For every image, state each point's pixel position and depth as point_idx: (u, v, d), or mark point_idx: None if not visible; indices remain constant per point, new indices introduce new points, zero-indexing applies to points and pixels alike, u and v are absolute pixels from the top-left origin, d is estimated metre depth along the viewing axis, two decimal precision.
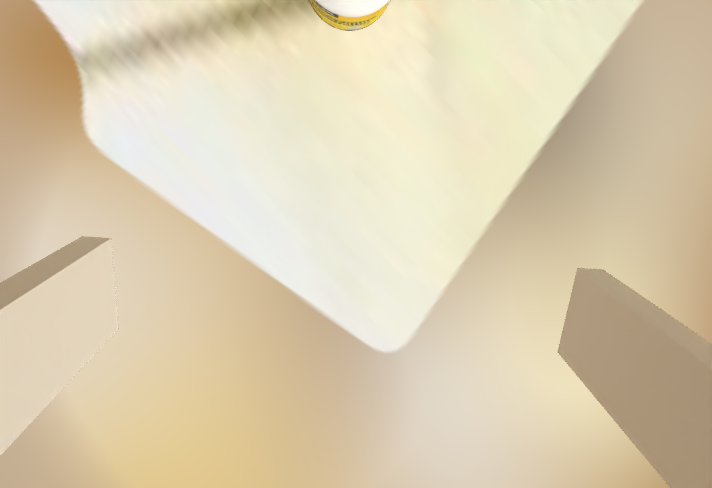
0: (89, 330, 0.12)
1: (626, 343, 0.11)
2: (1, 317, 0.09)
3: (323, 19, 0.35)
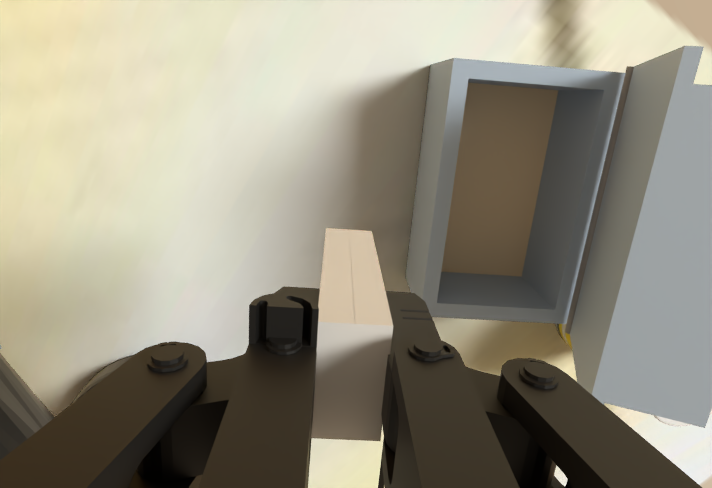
0: None
1: None
2: None
3: None
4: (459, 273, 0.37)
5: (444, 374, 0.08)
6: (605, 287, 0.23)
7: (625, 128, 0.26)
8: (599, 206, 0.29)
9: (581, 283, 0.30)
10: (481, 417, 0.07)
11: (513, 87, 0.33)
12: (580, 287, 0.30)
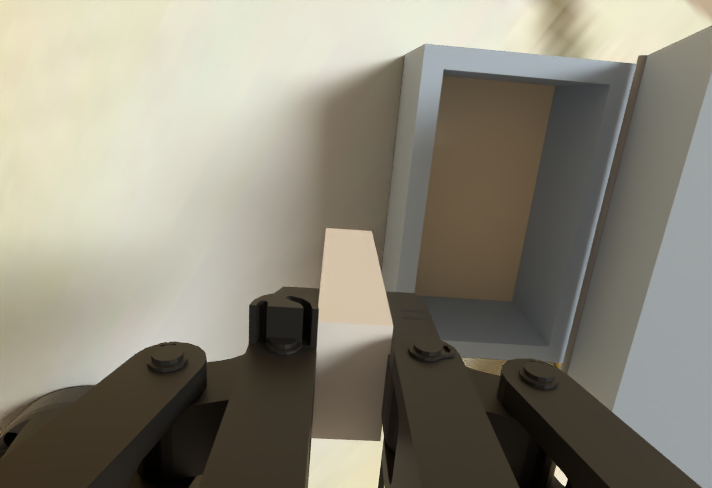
0: None
1: None
2: None
3: None
4: (439, 298, 0.32)
5: (444, 374, 0.08)
6: (611, 335, 0.18)
7: (636, 132, 0.20)
8: (603, 225, 0.24)
9: (580, 317, 0.25)
10: (481, 417, 0.07)
11: (502, 82, 0.28)
12: (579, 321, 0.25)
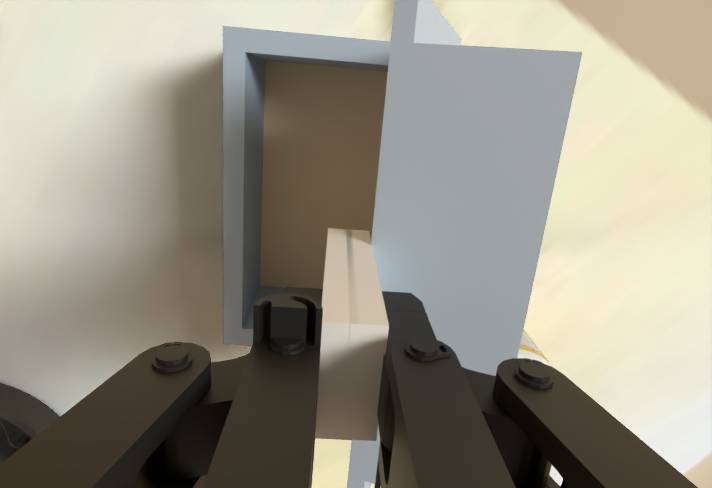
0: None
1: None
2: None
3: None
4: None
5: (440, 374, 0.08)
6: None
7: None
8: None
9: None
10: (477, 417, 0.07)
11: (348, 69, 0.27)
12: None
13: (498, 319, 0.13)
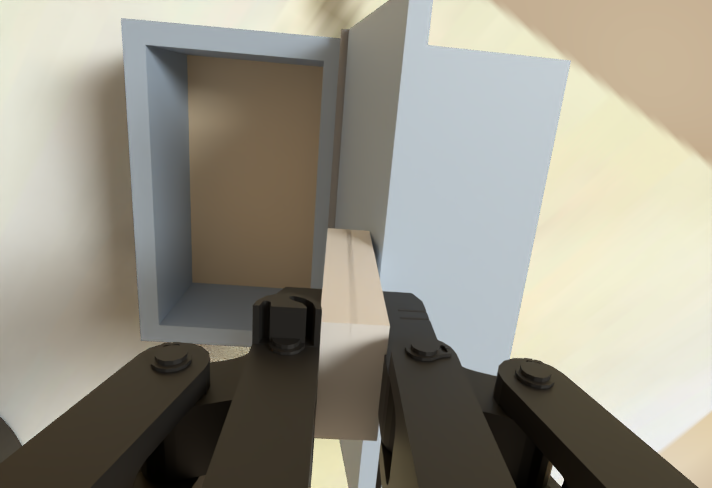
0: None
1: None
2: None
3: None
4: (236, 286, 0.31)
5: (441, 374, 0.08)
6: None
7: (350, 109, 0.20)
8: (335, 208, 0.23)
9: None
10: (478, 417, 0.07)
11: (271, 63, 0.27)
12: None
13: (500, 302, 0.15)
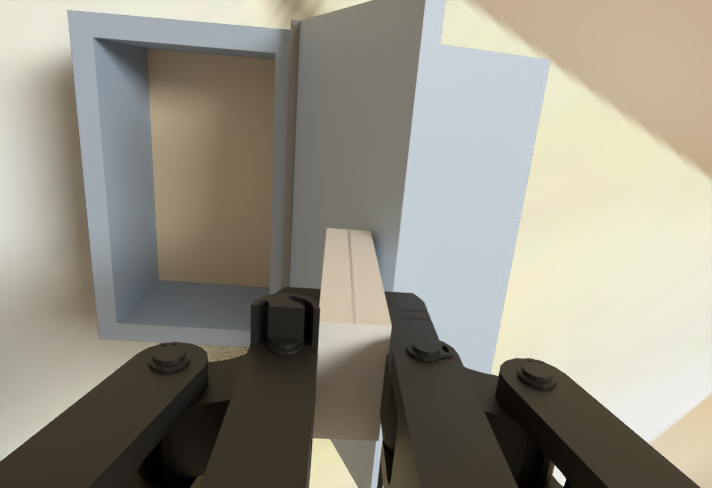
0: None
1: None
2: None
3: None
4: (203, 284, 0.31)
5: (443, 374, 0.08)
6: None
7: (312, 103, 0.19)
8: (292, 204, 0.22)
9: None
10: (480, 417, 0.07)
11: (233, 57, 0.27)
12: None
13: (492, 280, 0.16)
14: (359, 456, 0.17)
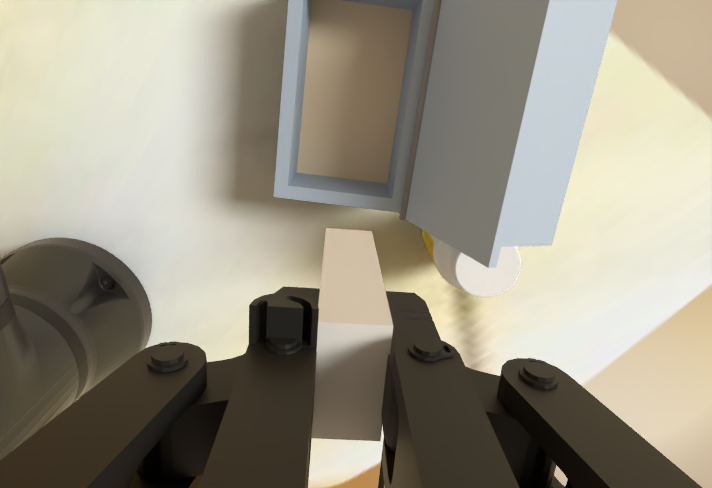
0: None
1: None
2: None
3: None
4: (330, 177, 0.41)
5: (444, 374, 0.08)
6: (479, 157, 0.28)
7: (453, 27, 0.30)
8: (424, 101, 0.33)
9: (413, 172, 0.35)
10: (481, 417, 0.07)
11: (372, 5, 0.37)
12: (412, 176, 0.35)
13: (573, 129, 0.27)
14: (481, 241, 0.28)
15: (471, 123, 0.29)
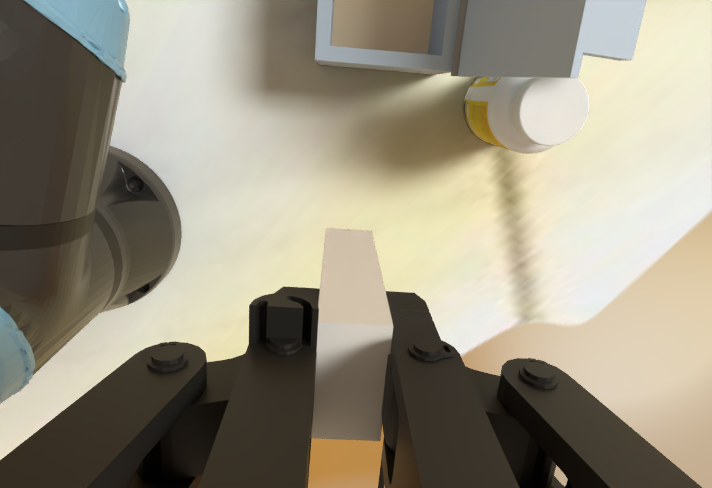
0: None
1: None
2: None
3: None
4: None
5: (444, 374, 0.08)
6: None
7: None
8: None
9: (465, 19, 0.32)
10: (481, 417, 0.07)
11: None
12: (464, 23, 0.32)
13: None
14: (560, 51, 0.26)
15: None
